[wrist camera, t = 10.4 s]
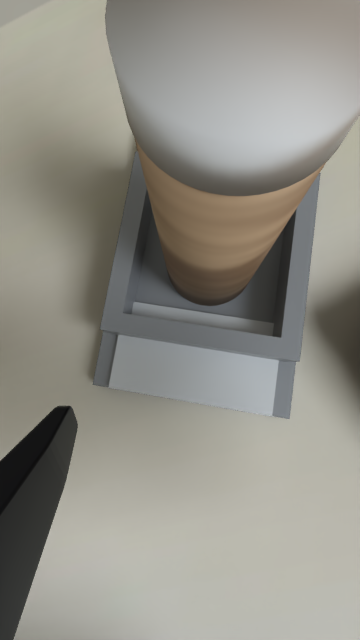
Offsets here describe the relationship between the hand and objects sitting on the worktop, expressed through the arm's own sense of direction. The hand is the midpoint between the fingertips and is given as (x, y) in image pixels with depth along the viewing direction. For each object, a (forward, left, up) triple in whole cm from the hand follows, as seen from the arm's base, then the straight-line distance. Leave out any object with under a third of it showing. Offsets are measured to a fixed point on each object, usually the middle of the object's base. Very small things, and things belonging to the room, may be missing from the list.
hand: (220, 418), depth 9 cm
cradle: (+7, +1, -9) cm, 12 cm away
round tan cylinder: (+7, +1, -8) cm, 11 cm away
